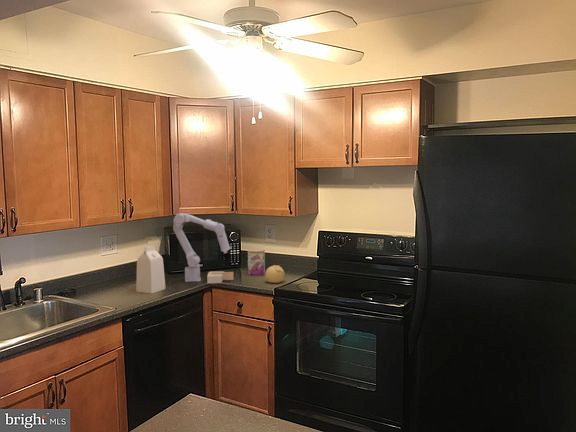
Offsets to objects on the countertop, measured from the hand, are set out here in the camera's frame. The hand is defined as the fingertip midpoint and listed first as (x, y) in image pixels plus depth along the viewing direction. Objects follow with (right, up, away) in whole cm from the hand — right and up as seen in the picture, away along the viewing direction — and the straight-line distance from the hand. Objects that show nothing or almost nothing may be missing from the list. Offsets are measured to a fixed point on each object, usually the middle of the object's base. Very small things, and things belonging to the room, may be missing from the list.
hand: (229, 262), depth 298 cm
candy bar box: (+16, -10, +17) cm, 25 cm away
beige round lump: (+29, -12, -6) cm, 32 cm away
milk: (-44, -14, -22) cm, 51 cm away
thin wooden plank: (-4, -12, 0) cm, 12 cm away
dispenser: (-9, -12, 0) cm, 15 cm away
